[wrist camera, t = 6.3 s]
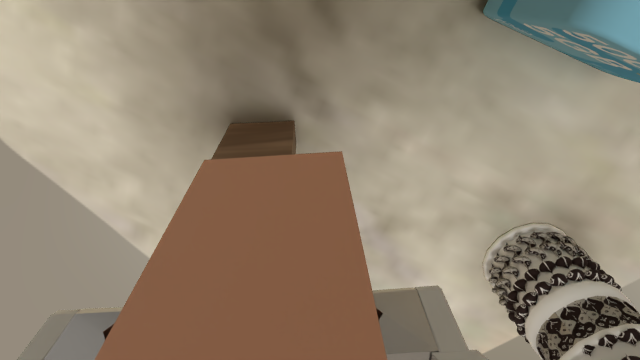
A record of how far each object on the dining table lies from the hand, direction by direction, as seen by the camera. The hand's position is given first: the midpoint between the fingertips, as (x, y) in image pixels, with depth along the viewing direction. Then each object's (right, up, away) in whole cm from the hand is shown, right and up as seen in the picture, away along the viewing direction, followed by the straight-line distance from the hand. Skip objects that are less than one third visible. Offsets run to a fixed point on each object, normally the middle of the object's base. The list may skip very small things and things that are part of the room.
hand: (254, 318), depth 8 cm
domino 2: (0, +3, +6) cm, 7 cm away
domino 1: (-3, +7, +22) cm, 23 cm away
